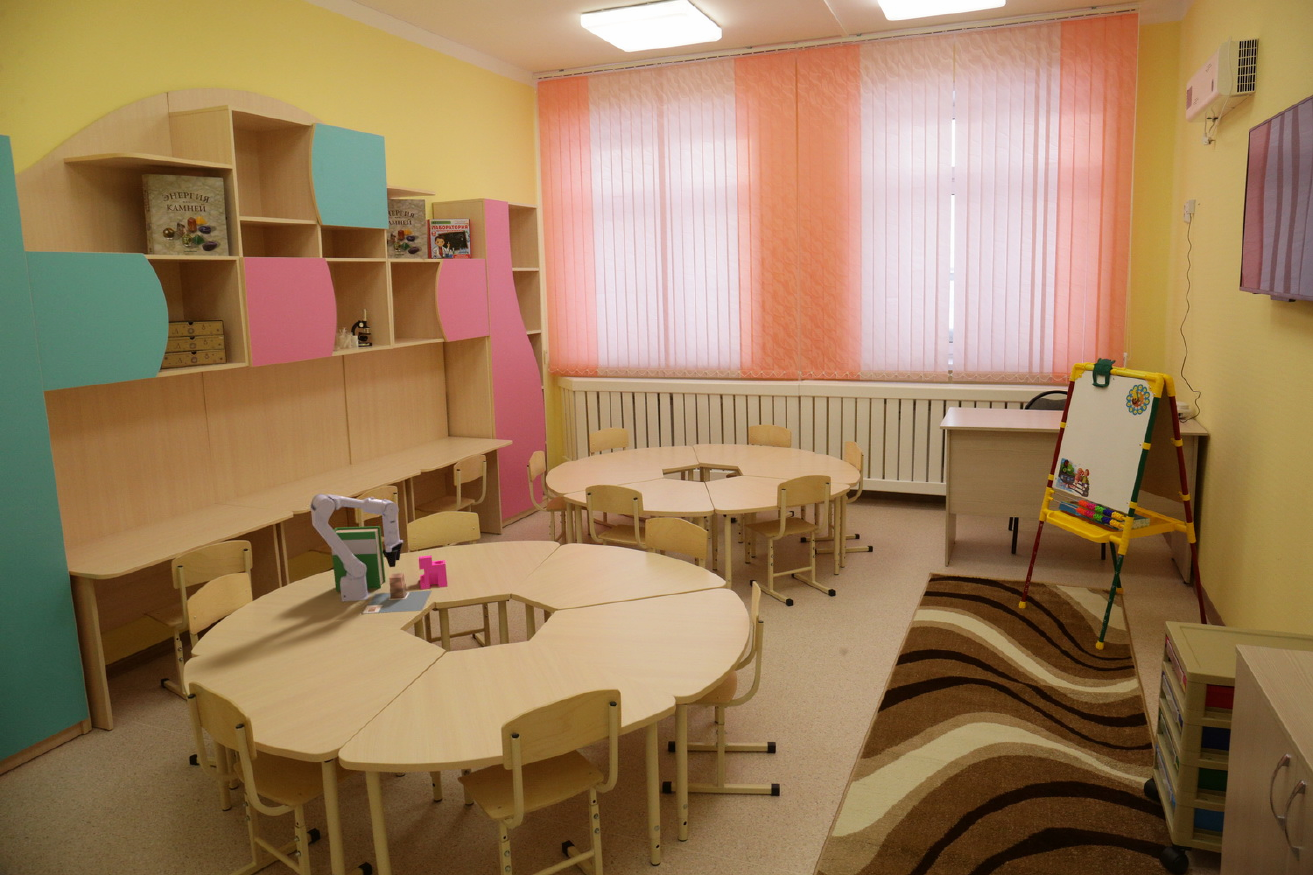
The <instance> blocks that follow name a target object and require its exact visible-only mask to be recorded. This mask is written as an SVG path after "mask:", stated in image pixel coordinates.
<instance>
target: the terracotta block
mask: <svg viewBox="0 0 1313 875" xmlns="http://www.w3.org/2000/svg"><path fill="white" fill-rule="evenodd" d="M405 584H406V583H405V573H404V572H402V573H399V572H398V573H391V574H390V576H389V590H390V589H401V588H403V586H404V585H405Z"/></svg>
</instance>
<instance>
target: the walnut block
mask: <svg viewBox="0 0 1313 875" xmlns="http://www.w3.org/2000/svg"><path fill="white" fill-rule="evenodd" d="M407 592H408V591H407V584H406V583H405V585H404V586H403V588H401V589H390V588H389V593H390V597H391V599H398V598H404V597H405V595H406V594H407Z"/></svg>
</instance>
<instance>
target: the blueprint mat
mask: <svg viewBox="0 0 1313 875" xmlns="http://www.w3.org/2000/svg"><path fill="white" fill-rule="evenodd" d="M406 592H407V594H406V595H405V597H404V598H398V599H391V597H390V592H381V593H374V595H372V597H371V599H370V601H369V602H368V603H367V606H365V608H364V610H363V611H362V613H361V614H362V615H366V614H368V615H369V614H384V613H385V614H386V613H402V612H418V611H419V612H420V611H423V609H424V608H425V605H426V604H427V601H428V599H429V598H430V595H431V594H432V590H420V591H418V590H417V591H406Z"/></svg>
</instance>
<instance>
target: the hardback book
mask: <svg viewBox="0 0 1313 875" xmlns="http://www.w3.org/2000/svg"><path fill="white" fill-rule="evenodd" d="M333 530H334V532H335V533H336V534H337V535H338V537H339V538H340V539H341V540H342V541H343V543H344V544H345V545H346V546H347V548H348V549H349V550H350V551H351V553H352V554H353V555H354V556H355V557H357V558H358V559H359V560H360V561H361V562H362V563H364V564H365V565H366V567H367V571H366V582H367V590H368V589H381V588H382V584H383V583H386V581H387V580H386V571H385V570H386V569H385V560H384V554H383V550H384V549H383V543H382V542H383V540H382V531H381V526H380V525H376V526H346V527H345V526H343V527H335V528H334V529H333ZM330 549H331V557H332V565H333V573H334V576H333V577H334V582H335V591H336V592H341V588H340V581H341V578H342V577H343V576H346V574H347V571H346V570H345V569H344V565H343V562H342V561H341V559H340V558H339V557H338V555H337V554H336V553H335V552H334V551H333V549H332V548H331V547H330Z"/></svg>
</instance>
